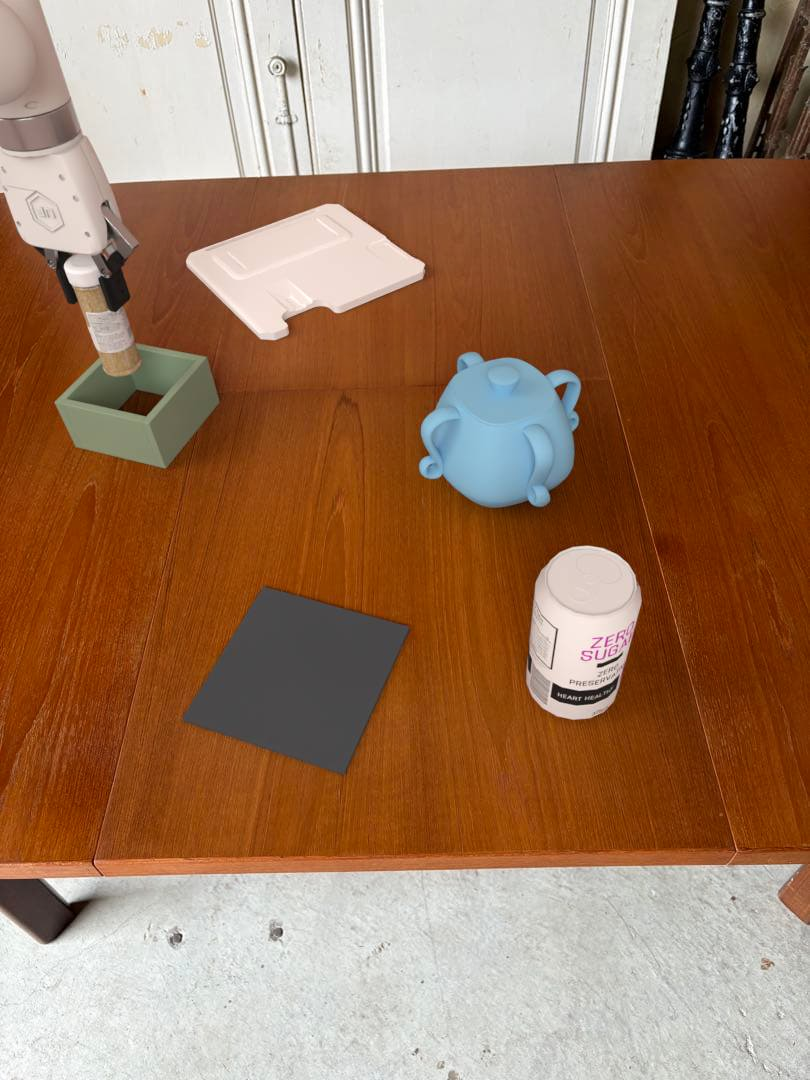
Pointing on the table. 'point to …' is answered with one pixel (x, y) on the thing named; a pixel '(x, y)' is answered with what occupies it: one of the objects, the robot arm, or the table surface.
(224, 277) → the tray
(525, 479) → the decorative pot
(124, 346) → the sprinkles bottle
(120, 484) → the table surface
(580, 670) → the supplement can
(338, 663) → the mat
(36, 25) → the robot arm
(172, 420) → the crate
